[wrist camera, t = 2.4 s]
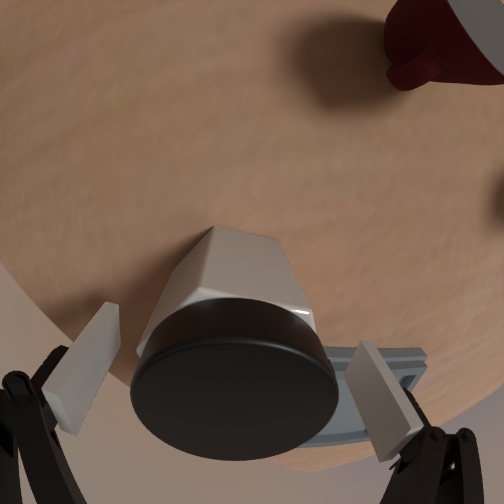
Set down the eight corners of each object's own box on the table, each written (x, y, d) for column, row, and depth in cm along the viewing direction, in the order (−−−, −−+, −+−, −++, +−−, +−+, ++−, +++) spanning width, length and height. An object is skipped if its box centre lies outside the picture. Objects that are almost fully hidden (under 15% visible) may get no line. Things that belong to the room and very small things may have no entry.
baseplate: (267, 432, 27) (269, 450, 25) (304, 345, 23) (311, 365, 20) (368, 426, 29) (374, 441, 26) (420, 347, 24) (432, 362, 22)
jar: (232, 347, 22) (235, 476, 11) (154, 287, 20) (94, 410, 9) (314, 276, 20) (384, 395, 9) (236, 200, 18) (238, 275, 7)
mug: (409, 138, 17) (511, 144, 8) (327, 70, 15) (403, 12, 6) (449, 58, 14) (529, 40, 5) (381, -4, 13) (447, -54, 3)
